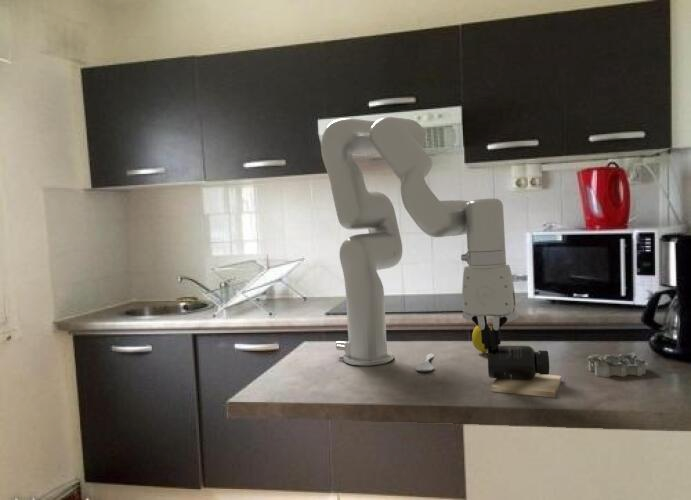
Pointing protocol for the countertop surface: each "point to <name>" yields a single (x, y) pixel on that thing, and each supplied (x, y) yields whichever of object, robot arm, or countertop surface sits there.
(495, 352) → the supplement bottle
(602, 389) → the countertop surface
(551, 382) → the cutting board
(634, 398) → the countertop surface
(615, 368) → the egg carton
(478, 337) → the lemon
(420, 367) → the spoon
